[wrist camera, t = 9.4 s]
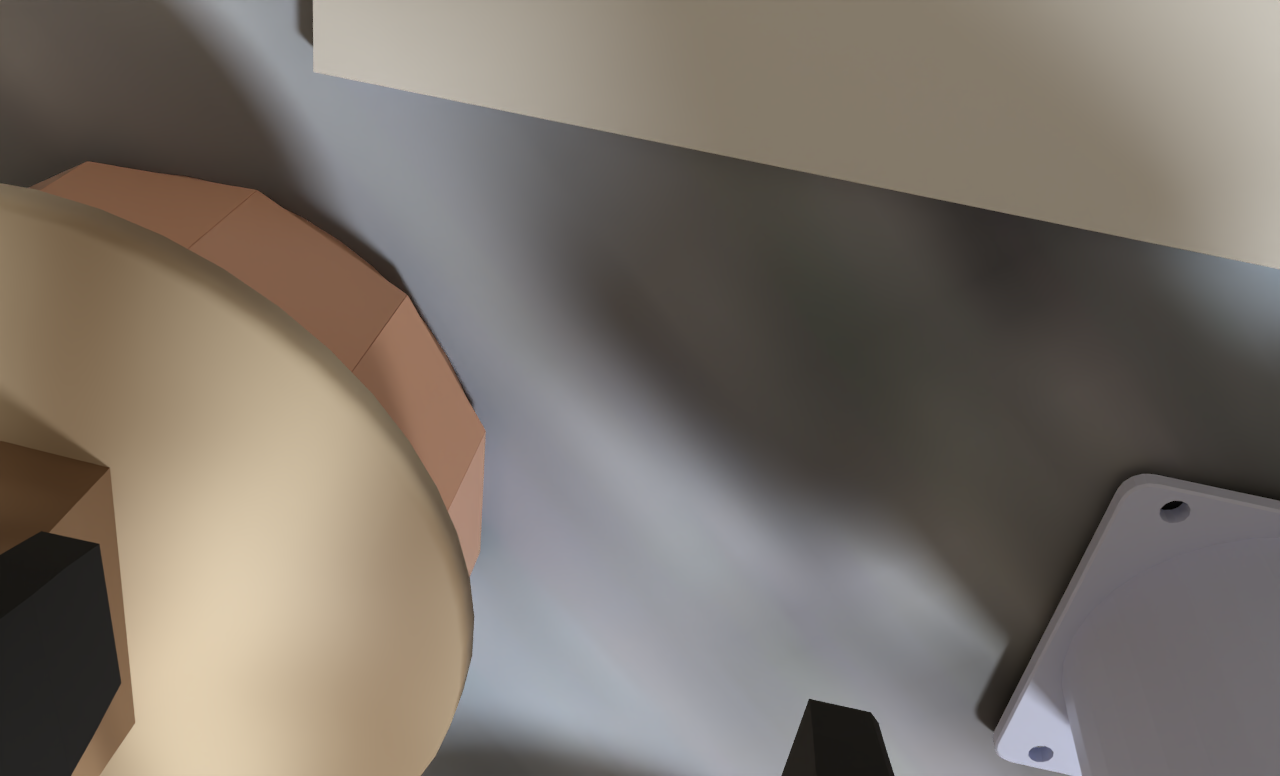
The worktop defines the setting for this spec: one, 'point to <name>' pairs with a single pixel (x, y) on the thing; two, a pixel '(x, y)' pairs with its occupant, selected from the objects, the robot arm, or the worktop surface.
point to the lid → (223, 510)
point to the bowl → (315, 309)
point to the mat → (889, 94)
